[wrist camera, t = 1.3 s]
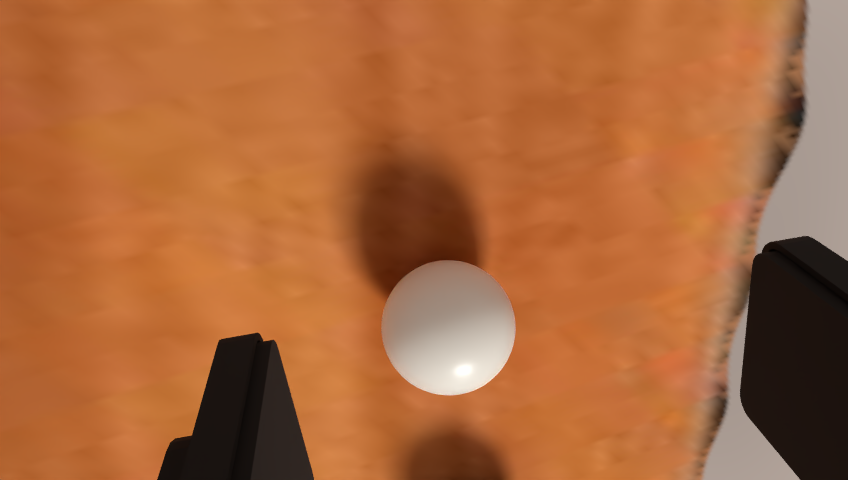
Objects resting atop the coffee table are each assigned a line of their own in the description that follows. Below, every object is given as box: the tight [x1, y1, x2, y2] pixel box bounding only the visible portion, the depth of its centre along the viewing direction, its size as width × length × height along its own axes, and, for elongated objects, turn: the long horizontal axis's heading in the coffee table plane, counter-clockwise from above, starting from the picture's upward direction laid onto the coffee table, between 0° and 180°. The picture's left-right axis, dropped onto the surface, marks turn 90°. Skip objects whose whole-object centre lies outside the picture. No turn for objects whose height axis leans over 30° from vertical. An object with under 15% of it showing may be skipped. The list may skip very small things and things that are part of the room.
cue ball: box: [381, 260, 515, 395], centre depth 28 cm, size 6×6×6 cm
